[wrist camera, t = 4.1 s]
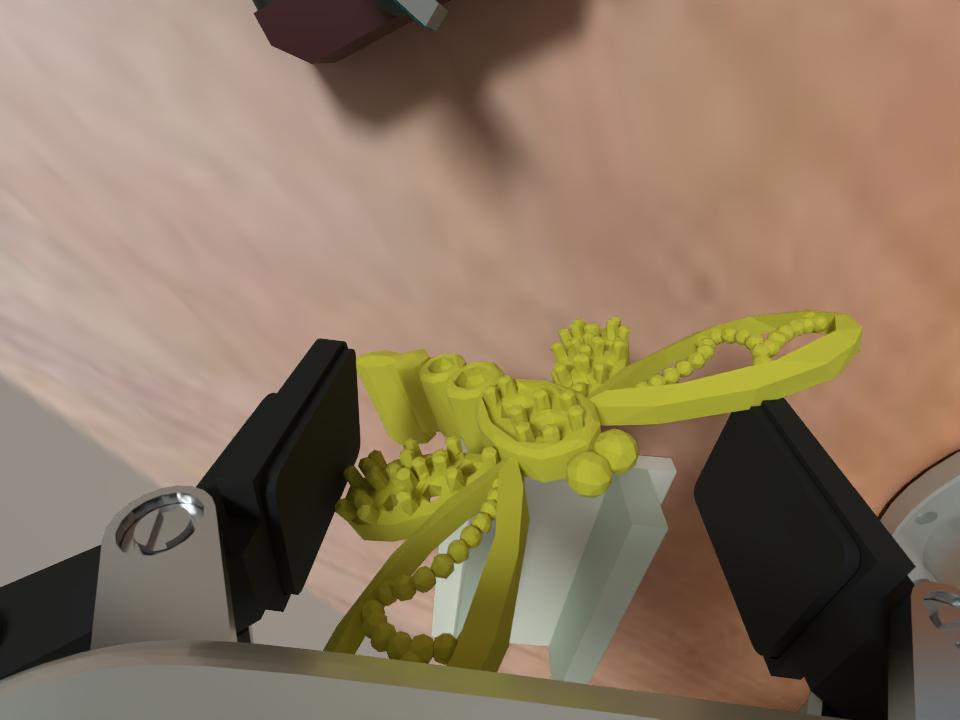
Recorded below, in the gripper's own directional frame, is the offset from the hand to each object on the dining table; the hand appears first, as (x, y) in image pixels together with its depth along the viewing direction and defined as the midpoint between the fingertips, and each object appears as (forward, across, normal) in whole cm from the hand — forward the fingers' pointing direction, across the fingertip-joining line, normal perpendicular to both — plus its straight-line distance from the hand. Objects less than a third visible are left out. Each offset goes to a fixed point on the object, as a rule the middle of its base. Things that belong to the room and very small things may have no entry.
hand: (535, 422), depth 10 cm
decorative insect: (+4, -1, 0) cm, 4 cm away
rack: (+8, -2, +16) cm, 17 cm away
